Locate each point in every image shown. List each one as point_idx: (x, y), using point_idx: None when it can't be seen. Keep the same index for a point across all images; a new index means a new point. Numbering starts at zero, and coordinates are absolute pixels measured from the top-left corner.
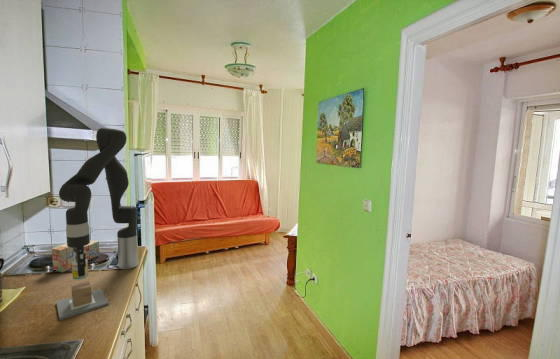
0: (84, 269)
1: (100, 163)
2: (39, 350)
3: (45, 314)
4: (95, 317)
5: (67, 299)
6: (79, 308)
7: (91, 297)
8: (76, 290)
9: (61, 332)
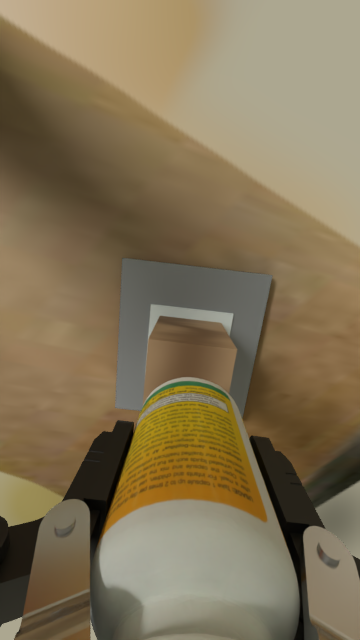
0: (290, 489)
1: None
2: (351, 473)
3: None
4: (318, 335)
5: (126, 379)
6: None
7: (225, 330)
8: None
9: (314, 425)
